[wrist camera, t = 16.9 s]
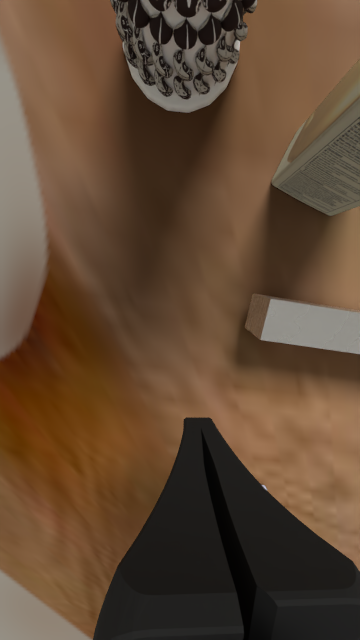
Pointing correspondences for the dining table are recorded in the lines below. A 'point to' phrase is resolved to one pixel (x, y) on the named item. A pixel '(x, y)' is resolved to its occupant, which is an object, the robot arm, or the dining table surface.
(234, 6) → the decorative candle
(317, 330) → the swing arm
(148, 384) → the dining table surface
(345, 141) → the skincare box
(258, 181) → the dining table surface
